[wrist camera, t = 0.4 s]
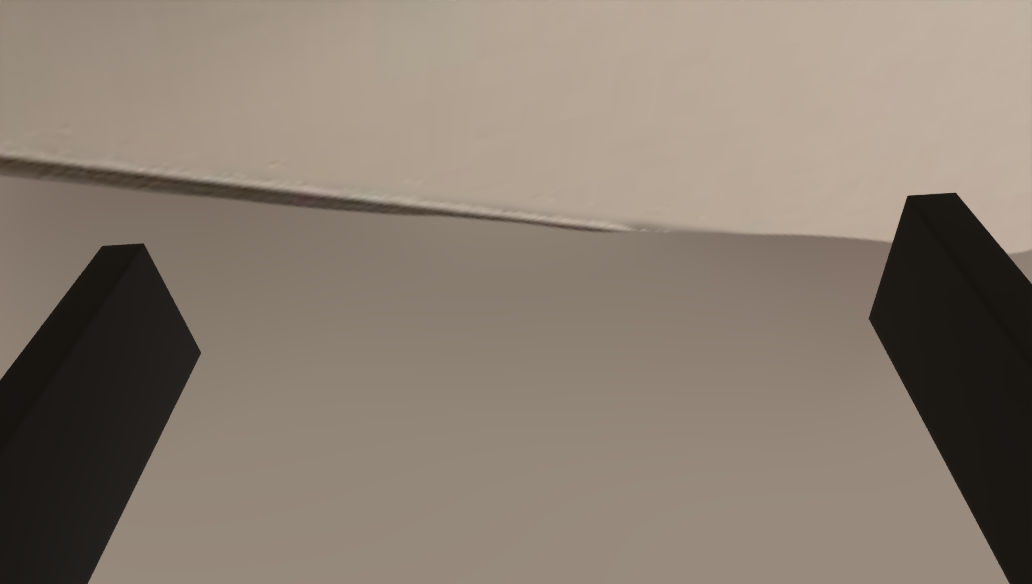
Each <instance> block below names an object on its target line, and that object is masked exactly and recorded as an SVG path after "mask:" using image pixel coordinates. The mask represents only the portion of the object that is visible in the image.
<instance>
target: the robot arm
mask: <svg viewBox="0 0 1032 584" xmlns="http://www.w3.org/2000/svg"><path fill="white" fill-rule="evenodd" d="M869 320H870V322H871V324H872V326H873V327H874V329H875V331H876V333H877V335H878V337H879V339H880V341H881V343H882V344H883V346H884V348H885V350H886V352H887V354H888V356H889V358H890V359H891V361H892V363H893V365H894V367H895V369H896V371H897V372H898V374H899V376H900V378H901V380H902V382H903V384H904V386H905V388H906V390H907V391H908V393H909V395H910V397H911V399H912V401H913V403H914V404H915V406H916V408H917V410H918V412H919V414H920V416H921V418H922V420H923V422H924V423H925V425H926V427H927V429H928V431H929V433H930V435H931V437H932V439H933V440H934V442H935V444H936V446H937V448H938V450H939V452H940V454H941V455H942V457H943V459H944V461H945V463H946V465H947V467H948V469H949V470H950V472H951V474H952V476H953V478H954V480H955V482H956V483H957V486H958V487H959V489H960V491H961V493H962V495H963V497H964V499H965V500H966V502H967V504H968V506H969V508H970V510H971V512H972V514H973V516H974V517H975V519H976V521H977V523H978V525H979V527H980V529H981V531H982V533H983V534H984V536H985V538H986V540H987V542H988V544H989V546H990V548H991V549H992V551H993V553H994V555H995V557H996V559H997V561H998V563H999V565H1000V566H1001V568H1002V570H1003V572H1004V574H1005V576H1006V578H1007V580H1008V582H1009V583H1010V584H1032V284H1031V283H1030V281H1029V280H1028V279H1027V278H1026V277H1025V275H1024V274H1023V273H1022V272H1021V271H1020V269H1019V268H1018V267H1017V266H1016V265H1015V263H1014V262H1013V261H1012V260H1011V259H1010V257H1009V256H1008V255H1007V254H1006V253H1005V251H1004V250H1003V249H1002V248H1001V247H1000V245H999V244H998V243H997V242H996V241H995V239H994V238H993V237H992V236H991V235H990V233H989V232H988V231H987V230H986V229H985V227H984V226H983V225H982V224H981V222H980V221H979V220H978V219H977V218H976V216H975V215H974V214H973V213H972V212H971V210H970V209H969V208H968V207H967V206H966V204H965V203H964V202H963V201H962V200H961V198H960V197H959V196H958V195H957V194H956V193H944V194H928V195H912V196H907V199H906V202H905V206H904V209H903V212H902V215H901V218H900V221H899V224H898V228H897V231H896V234H895V237H894V240H893V243H892V247H891V250H890V253H889V256H888V259H887V262H886V266H885V269H884V272H883V275H882V278H881V281H880V285H879V288H878V291H877V294H876V298H875V301H874V304H873V307H872V310H871V313H870V317H869ZM200 354H201V352H200V350H199V348H198V346H197V344H196V342H195V340H194V338H193V336H192V335H191V333H190V331H189V329H188V327H187V325H186V323H185V321H184V319H183V317H182V315H181V314H180V312H179V310H178V308H177V306H176V304H175V302H174V300H173V298H172V297H171V295H170V293H169V291H168V289H167V287H166V285H165V283H164V281H163V279H162V277H161V276H160V274H159V272H158V270H157V268H156V266H155V264H154V262H153V260H152V259H151V257H150V255H149V253H148V251H147V249H146V247H145V245H144V244H127V245H112V246H102V247H101V248H100V250H99V251H98V253H97V254H96V255H95V256H94V258H93V259H92V260H91V262H90V263H89V264H88V266H87V267H86V268H85V270H84V271H83V272H82V273H81V275H80V276H79V277H78V279H77V280H76V281H75V283H74V284H73V285H72V287H71V288H70V289H69V291H68V292H67V293H66V294H65V296H64V297H63V298H62V300H61V301H60V302H59V304H58V305H57V306H56V308H55V309H54V310H53V312H52V313H51V314H50V316H49V317H48V318H47V320H46V321H45V322H44V324H43V325H42V326H41V327H40V329H39V330H38V331H37V333H36V334H35V335H34V337H33V338H32V339H31V341H30V342H29V343H28V345H27V346H26V347H25V348H24V350H23V351H22V352H21V354H20V355H19V356H18V358H17V359H16V360H15V362H14V363H13V364H12V365H11V367H10V368H9V369H8V371H7V372H6V373H5V375H4V376H3V378H2V379H1V380H0V584H88V582H89V580H90V578H91V575H92V573H93V572H94V570H95V568H96V566H97V564H98V561H99V559H100V557H101V555H102V553H103V551H104V549H105V547H106V545H107V543H108V541H109V539H110V537H111V535H112V533H113V531H114V529H115V527H116V525H117V523H118V521H119V519H120V517H121V515H122V513H123V510H124V509H125V507H126V504H127V502H128V500H129V498H130V496H131V494H132V492H133V490H134V488H135V486H136V484H137V482H138V480H139V478H140V476H141V474H142V472H143V470H144V468H145V466H146V464H147V462H148V460H149V458H150V456H151V454H152V452H153V449H154V448H155V446H156V444H157V442H158V439H159V437H160V435H161V433H162V431H163V429H164V427H165V425H166V423H167V421H168V419H169V417H170V415H171V413H172V411H173V409H174V407H175V405H176V403H177V401H178V399H179V397H180V395H181V393H182V391H183V388H184V387H185V385H186V382H187V380H188V379H189V377H190V374H191V372H192V370H193V368H194V366H195V364H196V362H197V360H198V358H199V356H200Z"/></svg>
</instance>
